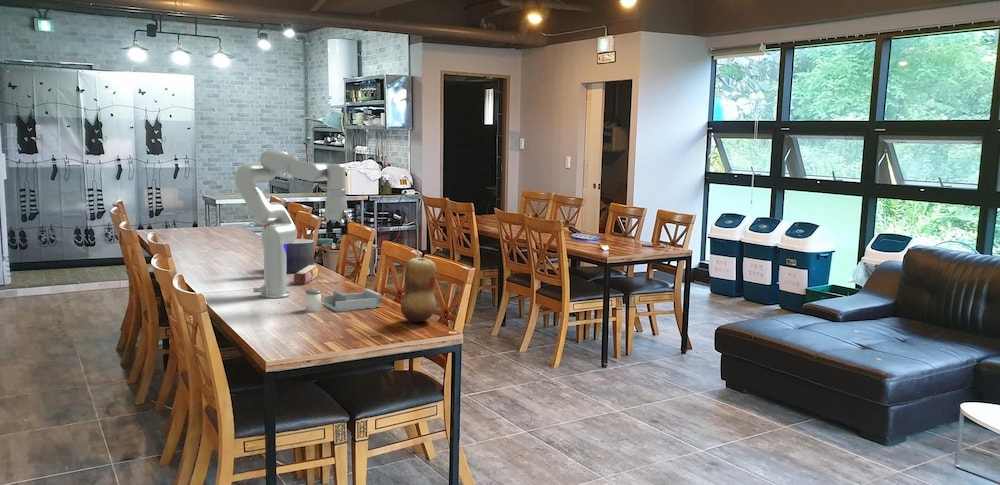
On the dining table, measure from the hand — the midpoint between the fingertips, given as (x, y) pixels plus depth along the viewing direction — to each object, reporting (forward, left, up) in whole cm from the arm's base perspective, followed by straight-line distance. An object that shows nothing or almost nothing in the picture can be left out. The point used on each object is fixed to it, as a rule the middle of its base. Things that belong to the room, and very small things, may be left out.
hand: (336, 233), depth 325 cm
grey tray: (+3, -10, -30) cm, 31 cm away
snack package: (+5, +53, -30) cm, 62 cm away
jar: (-14, -10, -30) cm, 34 cm away
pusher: (+3, -10, -30) cm, 31 cm away
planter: (+10, +84, -30) cm, 90 cm away
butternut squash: (+15, -47, -30) cm, 58 cm away
